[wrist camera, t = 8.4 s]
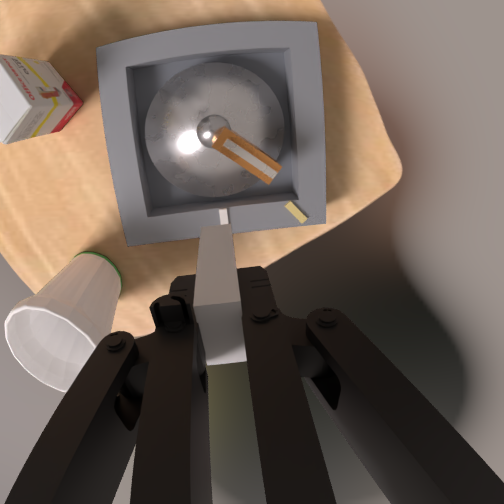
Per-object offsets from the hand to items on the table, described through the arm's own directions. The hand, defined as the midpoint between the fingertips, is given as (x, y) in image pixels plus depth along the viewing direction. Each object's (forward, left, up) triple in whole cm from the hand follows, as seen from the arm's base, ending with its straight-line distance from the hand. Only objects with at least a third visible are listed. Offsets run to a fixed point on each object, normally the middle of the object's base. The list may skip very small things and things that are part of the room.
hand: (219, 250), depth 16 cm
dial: (-5, 0, -20) cm, 20 cm away
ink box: (-13, -19, -21) cm, 31 cm away
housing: (-5, 0, -21) cm, 22 cm away
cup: (+12, -19, -21) cm, 31 cm away
